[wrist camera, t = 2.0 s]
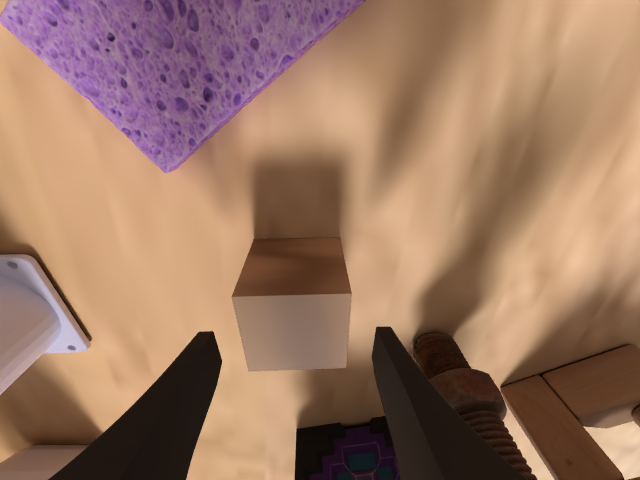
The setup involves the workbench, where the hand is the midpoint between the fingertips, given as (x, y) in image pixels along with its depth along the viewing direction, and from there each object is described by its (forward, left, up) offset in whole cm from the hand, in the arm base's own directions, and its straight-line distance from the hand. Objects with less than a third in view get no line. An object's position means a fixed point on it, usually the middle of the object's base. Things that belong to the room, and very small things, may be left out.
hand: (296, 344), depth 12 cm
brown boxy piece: (0, 0, -6) cm, 6 cm away
